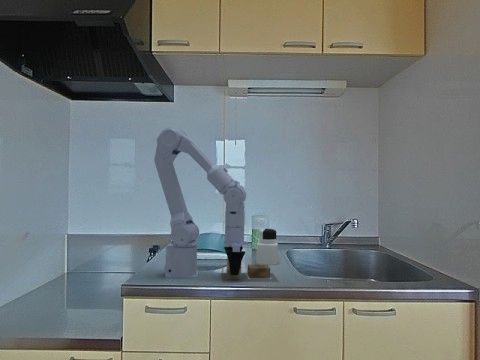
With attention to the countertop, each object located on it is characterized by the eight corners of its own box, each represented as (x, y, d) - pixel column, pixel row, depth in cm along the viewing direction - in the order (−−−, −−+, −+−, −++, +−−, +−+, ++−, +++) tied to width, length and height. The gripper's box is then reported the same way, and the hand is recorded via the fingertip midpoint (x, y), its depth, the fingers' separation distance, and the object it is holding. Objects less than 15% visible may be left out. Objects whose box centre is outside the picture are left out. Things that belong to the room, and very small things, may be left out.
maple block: (227, 278, 137) (227, 261, 137) (226, 275, 141) (226, 259, 141) (241, 278, 137) (241, 261, 137) (239, 275, 141) (240, 259, 141)
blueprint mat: (222, 282, 133) (222, 281, 133) (220, 274, 145) (220, 272, 145) (279, 282, 134) (279, 281, 134) (272, 274, 146) (272, 273, 146)
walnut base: (249, 278, 137) (249, 268, 137) (247, 274, 143) (247, 264, 143) (270, 278, 138) (270, 268, 138) (267, 274, 144) (267, 264, 144)
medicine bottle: (277, 262, 167) (278, 228, 167) (277, 265, 160) (277, 230, 160) (257, 261, 168) (258, 227, 168) (256, 265, 161) (256, 229, 161)
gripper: (251, 229, 132) (250, 277, 132) (245, 224, 146) (244, 268, 146) (225, 229, 131) (224, 277, 131) (223, 224, 146) (222, 267, 146)
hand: (233, 272), depth 139 cm, fingers open, 6 cm apart
